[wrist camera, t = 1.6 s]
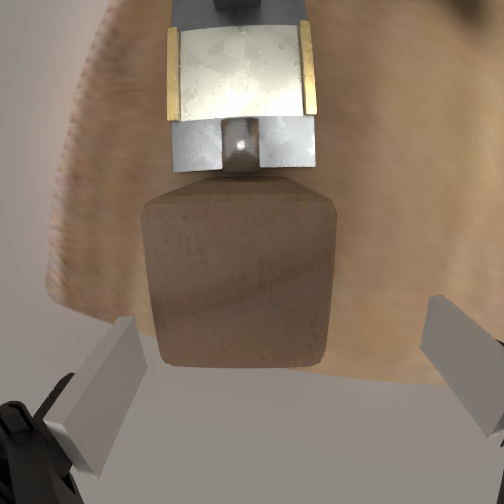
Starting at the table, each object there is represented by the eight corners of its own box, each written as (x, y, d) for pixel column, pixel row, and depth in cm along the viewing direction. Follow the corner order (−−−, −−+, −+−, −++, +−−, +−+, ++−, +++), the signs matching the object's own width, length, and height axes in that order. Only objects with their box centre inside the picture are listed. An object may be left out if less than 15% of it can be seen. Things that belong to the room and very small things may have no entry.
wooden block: (290, 263, 36) (327, 371, 17) (204, 264, 36) (157, 371, 17) (291, 176, 33) (343, 196, 14) (200, 178, 33) (132, 200, 14)
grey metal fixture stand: (175, 1, 27) (154, -39, 17) (300, -6, 26) (314, -48, 17) (177, 173, 33) (149, 178, 24) (312, 168, 33) (334, 170, 24)
